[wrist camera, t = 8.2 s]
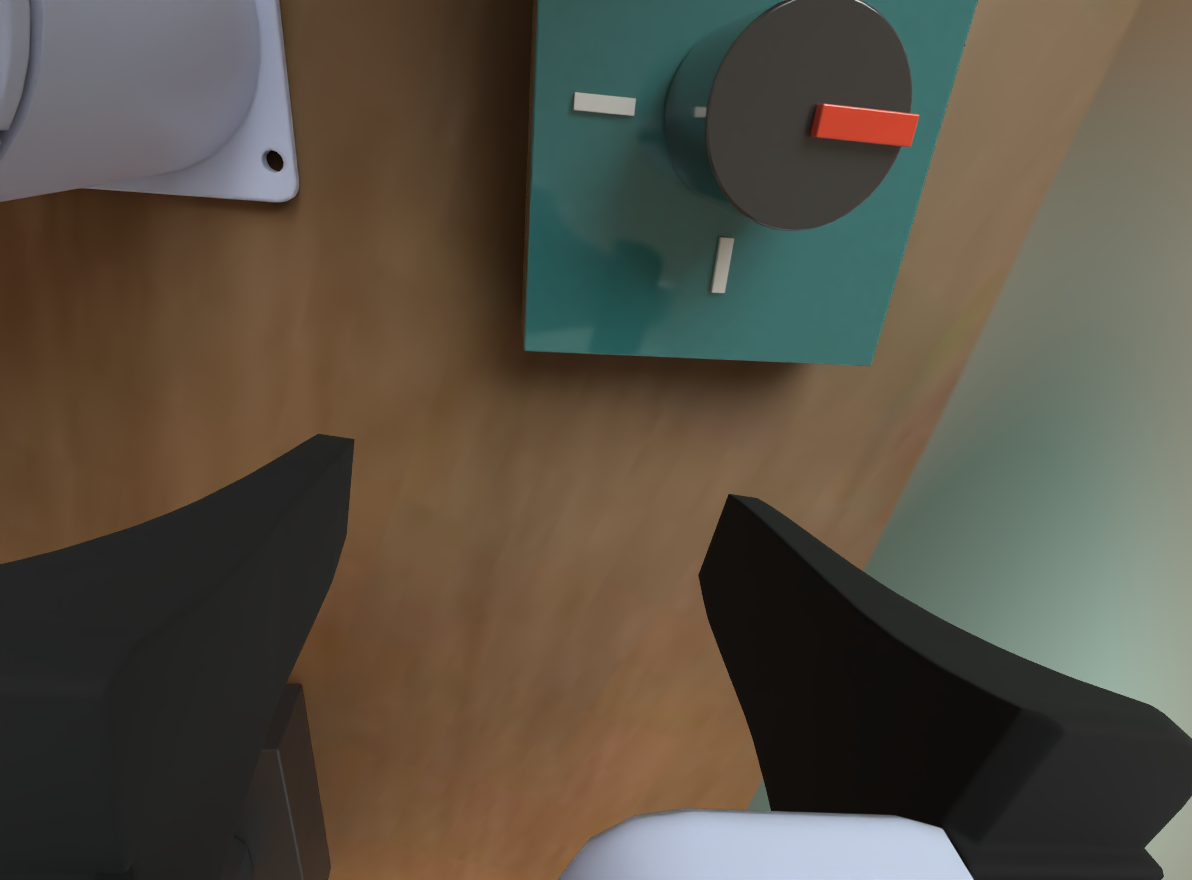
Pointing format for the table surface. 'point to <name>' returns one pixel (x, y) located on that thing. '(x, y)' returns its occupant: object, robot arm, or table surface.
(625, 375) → the table surface
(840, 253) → the dial panel
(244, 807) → the button base
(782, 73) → the knob
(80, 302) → the table surface
